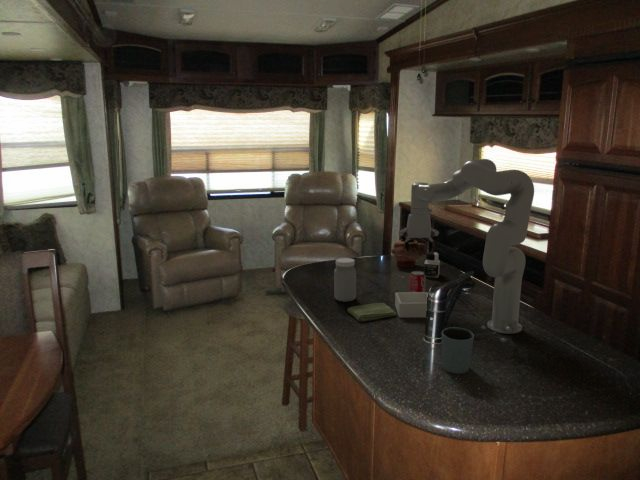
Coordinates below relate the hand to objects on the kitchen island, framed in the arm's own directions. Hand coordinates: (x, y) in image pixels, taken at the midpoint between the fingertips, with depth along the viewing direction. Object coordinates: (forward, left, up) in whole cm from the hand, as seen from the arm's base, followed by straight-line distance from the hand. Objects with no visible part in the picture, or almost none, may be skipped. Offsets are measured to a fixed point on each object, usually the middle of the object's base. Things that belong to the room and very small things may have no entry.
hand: (418, 250), depth 233 cm
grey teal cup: (-67, -2, -22) cm, 71 cm away
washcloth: (-19, +21, -23) cm, 37 cm away
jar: (0, +32, -22) cm, 39 cm away
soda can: (0, 0, -22) cm, 22 cm away
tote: (-16, +4, -22) cm, 28 cm away
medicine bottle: (+35, -13, -22) cm, 44 cm away
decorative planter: (+54, -4, -22) cm, 59 cm away
